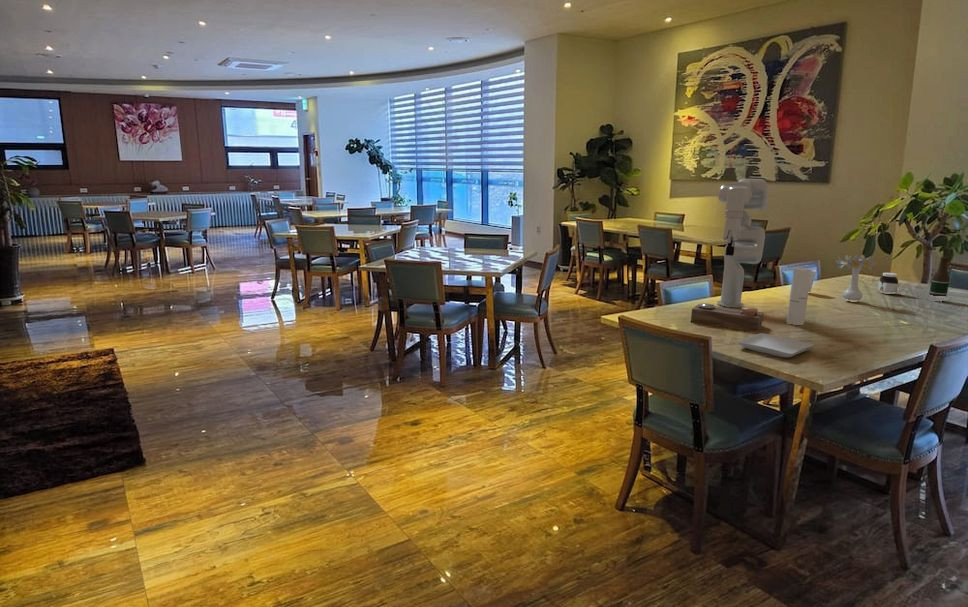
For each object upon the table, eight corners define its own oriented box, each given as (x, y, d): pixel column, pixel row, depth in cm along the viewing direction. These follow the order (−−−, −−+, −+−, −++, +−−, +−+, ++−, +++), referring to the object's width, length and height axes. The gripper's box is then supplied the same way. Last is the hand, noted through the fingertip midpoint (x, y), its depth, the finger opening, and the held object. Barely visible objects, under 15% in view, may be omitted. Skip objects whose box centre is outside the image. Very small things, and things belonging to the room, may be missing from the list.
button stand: (697, 316, 288) (698, 304, 287) (761, 325, 274) (763, 312, 272) (690, 321, 278) (692, 308, 277) (757, 331, 264) (759, 317, 262)
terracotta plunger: (741, 319, 275) (743, 306, 274) (757, 321, 272) (758, 308, 270) (738, 322, 270) (740, 308, 268) (754, 324, 266) (756, 310, 265)
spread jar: (874, 291, 356) (878, 271, 353) (895, 292, 355) (899, 272, 352) (886, 296, 344) (889, 275, 342) (907, 296, 343) (911, 276, 341)
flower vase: (833, 296, 339) (840, 251, 333) (872, 302, 327) (879, 255, 321) (827, 300, 329) (834, 254, 324) (867, 306, 317) (874, 258, 312)
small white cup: (700, 315, 284) (701, 302, 283) (714, 317, 281) (715, 304, 280) (696, 318, 279) (698, 305, 278) (711, 320, 276) (712, 307, 274)
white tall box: (805, 326, 274) (813, 270, 268) (788, 325, 275) (796, 270, 270) (801, 322, 281) (808, 268, 275) (784, 321, 282) (791, 267, 277)
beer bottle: (949, 302, 330) (957, 258, 325) (934, 302, 330) (942, 258, 325) (938, 299, 338) (946, 256, 332) (924, 299, 338) (932, 255, 332)
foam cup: (797, 293, 345) (800, 270, 342) (792, 290, 354) (795, 268, 351) (815, 294, 344) (818, 271, 341) (809, 291, 353) (813, 269, 350)
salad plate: (760, 339, 252) (761, 331, 252) (814, 352, 237) (815, 343, 236) (734, 349, 239) (735, 340, 238) (790, 362, 223) (792, 353, 222)
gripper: (728, 213, 286) (724, 252, 290) (721, 215, 274) (717, 256, 278) (745, 214, 282) (741, 254, 286) (739, 216, 270) (735, 257, 274)
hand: (729, 255), depth 282 cm, fingers closed
